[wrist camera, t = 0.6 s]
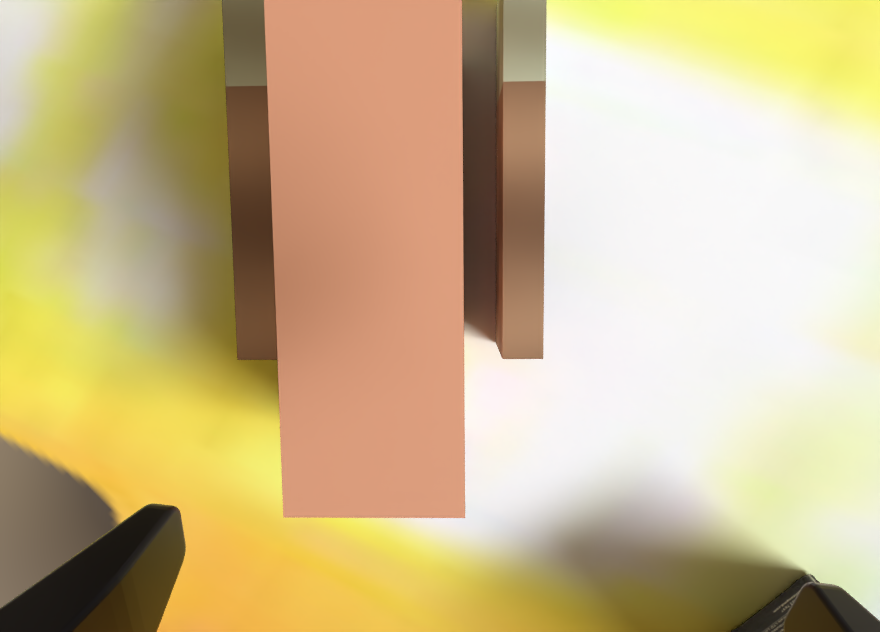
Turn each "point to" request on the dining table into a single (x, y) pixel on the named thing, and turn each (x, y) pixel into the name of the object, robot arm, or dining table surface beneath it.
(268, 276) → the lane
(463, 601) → the dining table surface
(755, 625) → the small box
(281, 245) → the block
